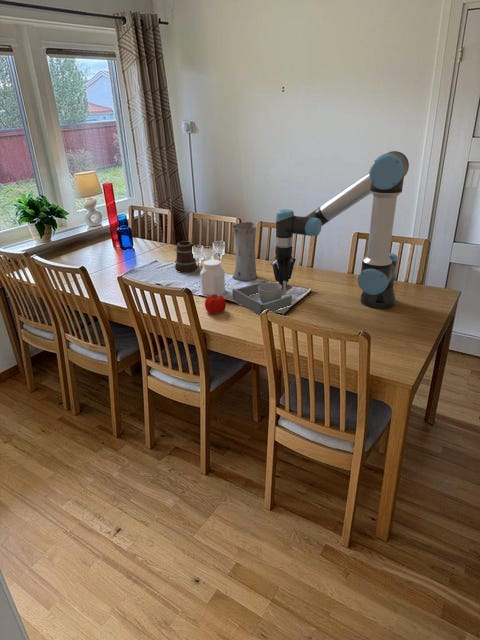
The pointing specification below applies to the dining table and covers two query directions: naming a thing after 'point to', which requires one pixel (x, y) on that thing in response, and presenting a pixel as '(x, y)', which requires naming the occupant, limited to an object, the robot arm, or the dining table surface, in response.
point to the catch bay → (243, 298)
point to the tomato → (215, 304)
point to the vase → (245, 251)
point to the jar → (212, 278)
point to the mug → (185, 257)
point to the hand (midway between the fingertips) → (282, 294)
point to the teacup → (269, 291)
